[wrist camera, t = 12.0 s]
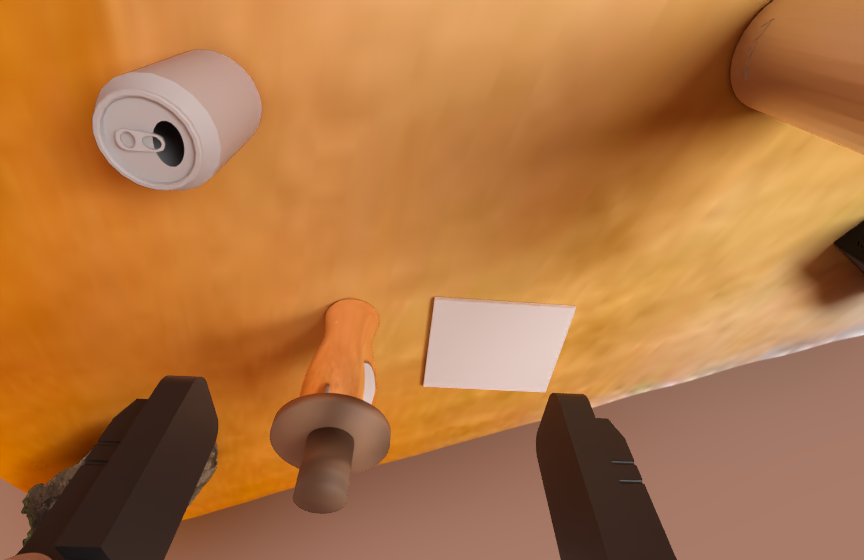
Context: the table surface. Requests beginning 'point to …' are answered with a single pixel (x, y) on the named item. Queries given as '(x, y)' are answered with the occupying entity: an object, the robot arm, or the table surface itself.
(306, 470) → the walnut lid
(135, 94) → the can
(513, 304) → the white mat
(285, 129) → the table surface
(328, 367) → the beer glass
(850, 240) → the digital camera
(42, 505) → the hollow geode rock
